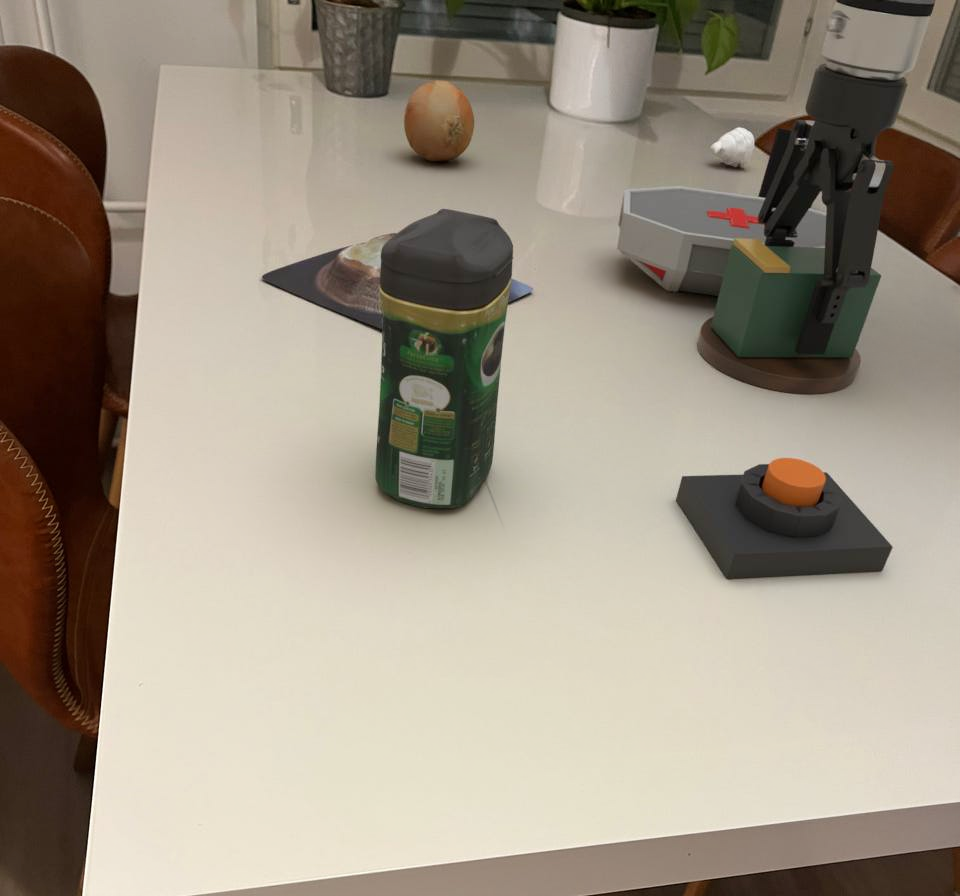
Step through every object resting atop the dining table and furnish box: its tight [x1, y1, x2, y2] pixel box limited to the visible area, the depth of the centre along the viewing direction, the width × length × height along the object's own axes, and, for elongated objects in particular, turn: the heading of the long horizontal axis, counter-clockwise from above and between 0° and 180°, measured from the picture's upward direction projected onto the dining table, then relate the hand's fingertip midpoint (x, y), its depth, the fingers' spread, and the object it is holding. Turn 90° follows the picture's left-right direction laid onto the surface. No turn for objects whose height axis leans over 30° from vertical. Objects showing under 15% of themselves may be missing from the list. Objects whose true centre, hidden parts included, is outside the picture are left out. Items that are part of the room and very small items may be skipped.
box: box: [711, 238, 882, 358], centre depth 93 cm, size 12×7×9 cm, turn 102°
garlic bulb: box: [710, 127, 755, 168], centre depth 150 cm, size 6×6×5 cm
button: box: [762, 457, 826, 507], centre depth 69 cm, size 4×4×2 cm
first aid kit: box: [616, 185, 826, 297], centre depth 109 cm, size 18×8×25 cm
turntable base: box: [696, 316, 862, 395], centre depth 97 cm, size 16×16×2 cm
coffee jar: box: [374, 208, 514, 509], centre depth 68 cm, size 10×8×19 cm
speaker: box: [757, 127, 814, 209], centre depth 133 cm, size 8×6×10 cm
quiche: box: [261, 232, 534, 330], centre depth 101 cm, size 21×20×4 cm
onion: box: [403, 80, 475, 162], centre depth 136 cm, size 10×10×10 cm
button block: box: [675, 463, 894, 581], centre depth 71 cm, size 12×10×4 cm
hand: (784, 328), depth 95 cm, fingers open, 10 cm apart
